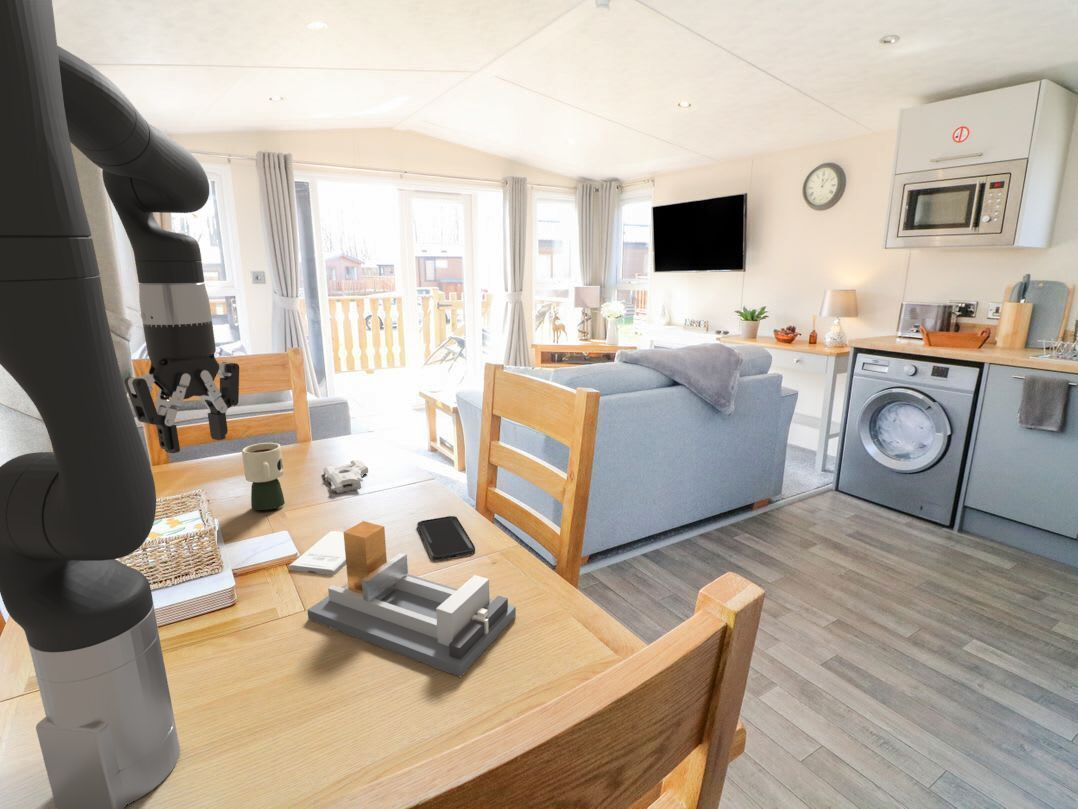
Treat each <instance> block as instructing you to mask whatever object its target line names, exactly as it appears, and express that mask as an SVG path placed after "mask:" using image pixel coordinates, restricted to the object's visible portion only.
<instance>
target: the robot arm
mask: <svg viewBox="0 0 1078 809" xmlns="http://www.w3.org/2000/svg"><path fill="white" fill-rule="evenodd" d="M72 145H73V146H74V147H75V148H76V149H78V151H80V152H81V153H82V154H83V155H84V156H85V157H86V158H87V159H88V160H89V161H90V162H92V163H93V164H95V165H96V166H97V167H98V168H100V169H101V171H102V172H101V174H102V175H101V176H102V181H103V185H104V187H105V190H106V193H107V195H108V197H109V199H110V201H111V203H112V205H113V208H114V209H115V211H116V214H117V216H118V217H119V220H120V221H121V224H122V227H123V228H124V230H125V231H124V232H125V233H126V235H127V238H128V241H129V243H130V246H131V248H132V251H133V256H134V261H135V262H134V263H135V268H136V275H137V281H138V283H139V284H138V290H139V293H138V295H139V297H138V298H139V300H138V301H139V309H140V318H141V321H142V327H143V333H144V338H145V344H146V352H147V356H148V358H149V361H150V366H149V367H150V368H149V370H148V373H146V374H142V375H138V376H137V377H134V376H127V377H126V378H125V379H124V381H123V379H122V378H123V377H122V373H121V370H120V367H119V366H120V365H119V362H118V358H117V354H116V349H115V345H114V342H113V341H114V340H113V337H112V333H111V328H110V324H109V321H108V320H109V319H108V316H107V310H106V305H105V299H104V294H103V287H102V280H101V273H100V269H99V264H98V261H97V255H96V250H95V245H94V240H93V238H92V232H91V229H90V228H91V227H90V224H89V221H88V217H87V213H86V209H85V205H84V201H83V196H82V193H81V186H80V183H79V179H78V173H77V168H76V164H75V158H74V154H73V151H72ZM209 198H210V182H209V179H208V176H207V174H206V172H205V170H204V168H203V166H202V165H201V163H200V162H199V160H198V159H197V157H195V156H194V155H193V154H192V153H191V152H190V151H189V150H188V149H187V148H186V147H185V146H183V145H181V144H180V143H178V142H177V141H176V140H174V139H173V138H172V137H170V136H168V135H167V134H165V132H163V131H161V130H160V129H157V128H156V127H155V126H153V125H151V124H149V123H148V121H147V119H145V118H144V117H143V115H142V114H141V113H140V112H139V110H138V109H137V108H136V106H135V105H134V104H133V103H132V102H131V101H130V99H129V98H128V97H127V96H126V94H125V93H123V91H122V90H121V89H120V88H119V86H117V85H116V84H115V83H114V82H113V81H112V80H111V79H109V77H108V76H106V75H104V74H103V73H102V72H101V71H99V70H98V69H96V68H95V67H93V66H92V65H91V64H89V63H88V62H86V61H85V60H84V59H81V58H80V57H79V56H77V55H75V54H73V53H72V52H70V51H68V50H66V49H64V48H63V47H61V46H59V45H58V42H57V33H56V24H55V15H54V6H53V0H0V366H1V367H2V368H3V369H4V370H6V372H7V373H8V374H9V375H10V376H11V377H12V378H13V379H14V381H15V382H16V383H17V384H18V385H19V387H20V388H21V389H22V390H23V391H24V392H25V394H27V396H28V398H29V399H30V400H31V402H32V403H33V405H34V406H35V408H36V409H37V412H38V413H39V416H40V417H41V419H42V421H43V423H44V426H45V428H46V430H47V433H48V437H49V440H50V443H51V446H52V450H53V451H38V452H30V453H25V454H22V455H21V454H20V455H18V456H16V457H14V458H11V459H10V460H8V461H6V462H5V463H3V464H2V465H0V596H1V600H2V602H3V605H4V608H5V609H6V612H7V613H8V615H9V617H10V618H11V619H12V620H13V621H14V622H15V623H16V624H17V625H19V627H21V628H22V630H23V631H24V634H25V636H26V641H27V643H28V648H29V652H30V656H31V660H32V663H33V667H34V673H35V676H36V681H37V685H38V689H39V693H40V697H41V701H42V706H43V709H44V710H43V711H44V715H45V717H43V718H42V719H41V720H40V721H38V723H36V725H35V732H36V735H37V739H38V742H39V746H40V750H41V755H42V759H43V761H44V766H45V770H46V773H47V779H48V782H49V785H50V786H49V787H50V789H51V794H52V798H53V803H54V806H55V809H56V808H57V809H125V808H126V805H127V804H128V805H130V804H132V803H133V801H134V802H135V801H137V800H139V799H141V798H143V797H144V796H145V795H147V794H149V793H150V792H152V791H153V790H155V789H156V787H158V786H159V785H160V784H161V783H162V782H163V781H164V780H165V779H166V778H167V777H168V776H169V774H171V772H172V771H173V770H174V768H175V766H176V765H177V762H178V760H179V757H180V753H181V752H180V751H181V750H180V749H181V747H180V744H179V742H180V741H179V737H178V731H177V726H176V719H175V714H174V709H173V706H172V705H173V704H172V698H171V693H170V689H169V688H170V687H169V682H168V676H167V671H166V666H165V660H164V655H163V649H162V643H161V639H160V633H159V629H158V628H159V627H158V622H157V616H156V611H155V605H154V601H153V594H152V589H151V585H150V582H149V580H148V578H147V577H146V576H145V575H144V574H143V573H142V572H141V571H139V570H137V569H136V568H133V567H132V566H129V565H127V564H124V563H122V562H120V561H119V560H117V559H121V558H123V557H126V556H129V555H131V554H133V553H134V552H135V551H137V550H138V549H140V547H142V545H143V544H144V542H145V541H146V540H147V538H148V537H149V535H150V533H151V532H152V529H153V526H154V522H155V518H156V512H157V509H156V508H157V494H156V484H155V481H154V475H153V472H152V467H151V465H150V461H149V458H148V456H147V452H146V449H145V446H144V444H143V441H142V438H141V434H140V431H139V428H138V425H137V423H136V420H135V417H134V414H133V410H134V412H135V416H136V419H137V421H138V422H140V423H144V424H149V425H155V427H156V431H157V436H158V441H159V442H158V443H159V446H160V449H162V450H164V451H165V452H166V453H169V454H176V453H179V452H180V451H181V447H180V441H179V434H178V429H177V425H176V424H175V421H176V418H177V414H178V412H179V409H181V408H182V405H183V402H184V400H187V399H190V398H192V397H198V398H199V400H202V401H203V403H204V405H205V406H206V407H207V409H208V410H209V412H207V418H208V425H209V434H210V438H211V439H212V440H215V441H222V440H226V435H227V434H228V431H229V430H228V421H227V411H228V410H229V409H230V408H232V407H235V406H238V404H239V401H240V400H239V398H240V391H239V390H240V365H239V364H238V363H235V362H230V361H222V362H218V360H217V359H216V356H215V353H216V351H217V347H216V340H215V339H216V338H215V334H214V327H213V326H214V325H213V319H212V311H211V304H210V299H209V295H208V291H207V289H206V283H205V278H204V277H205V276H204V269H203V263H202V262H203V260H202V254H201V249H200V244H199V242H198V241H197V240H196V239H195V237H193V236H191V235H187V234H184V233H180V232H179V233H178V232H174V231H169V230H166V229H164V228H162V227H161V226H160V224H159V223H158V222H157V220H156V219H155V217H154V216H155V215H154V213H161V214H162V213H168V214H169V213H170V214H188V213H189V214H190V213H194V212H195V213H196V212H197V211H199V210H201V209H202V208H203V207H204V206H205V205H206V204H207V202H208V200H209ZM217 375H218V377H219V388H218V386H217V385H216V383H215V378H216V377H217ZM153 383H154V384H155V386H157V387H158V388H159V390H158V393H157V397H156V400H155V402H154V400H153V397H152V393H151V392H152V391H153ZM126 391H127V392H126ZM127 393H128V396H129V398H130V401H131V405H130V401H129V398H128V396H127ZM155 404H156V406H155ZM131 406H132V408H133V410H132V408H131ZM131 802H132V803H131ZM129 803H130V804H129ZM128 805H127V806H128ZM124 807H125V808H124Z"/></svg>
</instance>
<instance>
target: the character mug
mask: <svg viewBox="0 0 1078 809" xmlns="http://www.w3.org/2000/svg"><path fill="white" fill-rule="evenodd" d="M281 447H282V446H281V444H280V443H275V442H261V443H260V442H259V443H255V444H251V445H247V446H245V447H244V448H242V450H241V456H242V464H243V470H244V478H245V480H246V481H247V482H251V489H250V490H251V494H250V495H251V496H250V498H251V499H250V500H251V502H250V503H251V504H250V505H251V506H250V508H251V510H254V511H263V510H264V511H265V510H268V511H271V510H273V509H278V508H281V507H283V505H284V504H285V503H286V502H285V497H284V494H283V493H284V492H283V489H282V485H281V482H280V480H279V479H278V478H280V477H282V476H283V475H284V462H283V456H282V448H281Z"/></svg>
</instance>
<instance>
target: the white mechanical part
mask: <svg viewBox="0 0 1078 809" xmlns="http://www.w3.org/2000/svg"><path fill="white" fill-rule="evenodd" d="M366 473H367V474H368V473H369V468H368V466H367V465H366V464H365V463H364V461H363V460H359V459H358V460H353V459H352V460H351V461H350V463H348V464H344V465H339V466H334V467H333V465H328V466H326V467H325V468H323V474H324V478H325V480H324V481H325V482H326V481H327V482H329V483H330V485H331V487H330V489H331V490H332V491H336V493H338V494H339V493H345V492H344V491H346V492H350V490H352V491H355V490H360V489H361V488H362V485H361V482H364V479H363V478H362V477H363V476H362V475H364V474H366ZM367 474H366V475H367ZM361 476H362V477H361ZM364 476H365V475H364Z"/></svg>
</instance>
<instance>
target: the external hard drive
mask: <svg viewBox="0 0 1078 809" xmlns="http://www.w3.org/2000/svg"><path fill="white" fill-rule="evenodd" d="M345 565H346V555H345V544H344V531H334V530H331V531H329V532H328V533H326V534H325V535H324V536H323V537H322V538H320V539H319V540H318V541H317V542H315V544H313V545H312V546H311V547H310V548H308V549H307V550H306V551H304V553H303V554H301V555H300V556H299V557H298V558H297V559H295V560H294V561H293V562H291V563H290V564H289V565H288V570H289V571H298V572H304V573H309V572H310V573H315V574H319V575H320V574H321V575H329V576H335V575H336V574H337V573H338V572H339V571H340V570H341V569H342V568H343V567H344V566H345Z"/></svg>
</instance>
